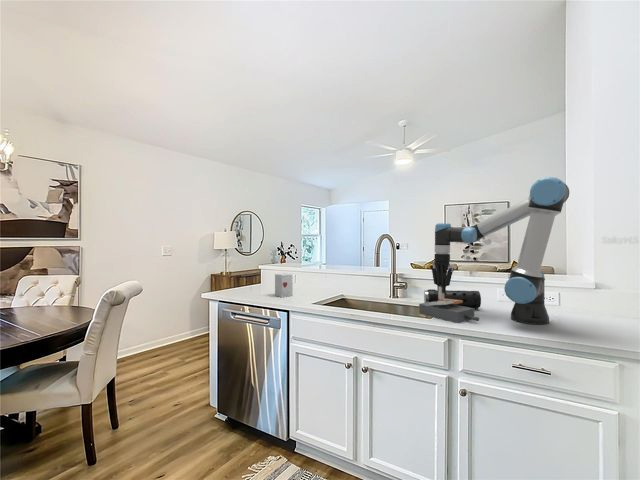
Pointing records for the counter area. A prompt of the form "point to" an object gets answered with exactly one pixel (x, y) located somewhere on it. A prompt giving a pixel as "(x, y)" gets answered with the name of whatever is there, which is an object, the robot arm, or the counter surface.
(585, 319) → the counter surface
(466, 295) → the muzzle brake
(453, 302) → the light grey flat plate
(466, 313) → the switch module
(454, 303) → the orange slotted plate
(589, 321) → the counter surface
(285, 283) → the supplement box
